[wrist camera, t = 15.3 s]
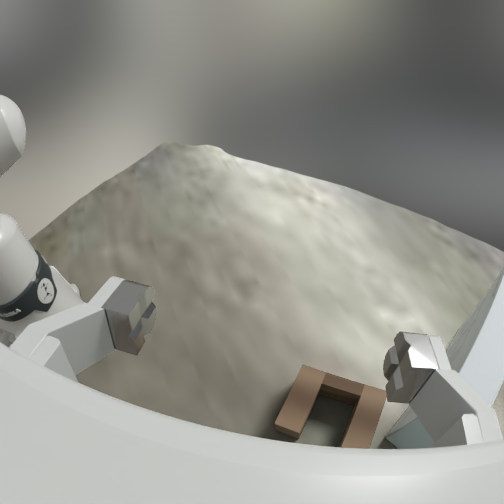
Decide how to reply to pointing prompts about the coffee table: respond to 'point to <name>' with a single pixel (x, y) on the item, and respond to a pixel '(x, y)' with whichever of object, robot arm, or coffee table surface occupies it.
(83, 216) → the coffee table surface
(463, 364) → the skincare box
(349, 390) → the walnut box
